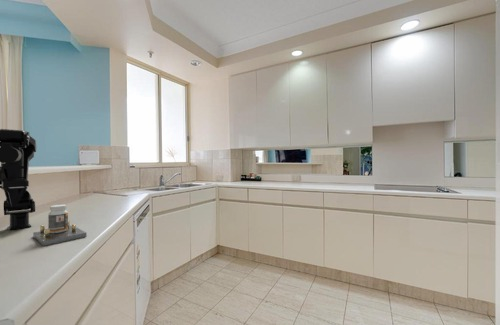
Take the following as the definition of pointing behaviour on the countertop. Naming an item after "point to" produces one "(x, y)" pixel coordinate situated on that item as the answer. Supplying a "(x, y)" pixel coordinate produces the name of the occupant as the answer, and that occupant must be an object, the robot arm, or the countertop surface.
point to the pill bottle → (58, 219)
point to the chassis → (58, 235)
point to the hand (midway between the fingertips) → (12, 205)
